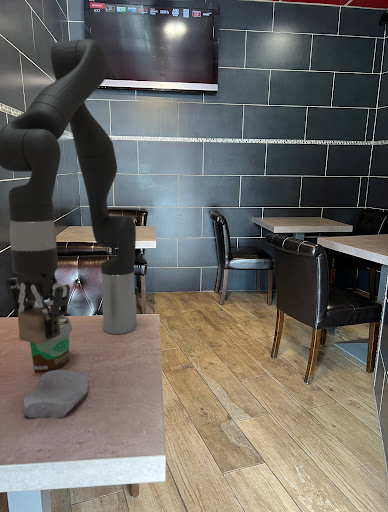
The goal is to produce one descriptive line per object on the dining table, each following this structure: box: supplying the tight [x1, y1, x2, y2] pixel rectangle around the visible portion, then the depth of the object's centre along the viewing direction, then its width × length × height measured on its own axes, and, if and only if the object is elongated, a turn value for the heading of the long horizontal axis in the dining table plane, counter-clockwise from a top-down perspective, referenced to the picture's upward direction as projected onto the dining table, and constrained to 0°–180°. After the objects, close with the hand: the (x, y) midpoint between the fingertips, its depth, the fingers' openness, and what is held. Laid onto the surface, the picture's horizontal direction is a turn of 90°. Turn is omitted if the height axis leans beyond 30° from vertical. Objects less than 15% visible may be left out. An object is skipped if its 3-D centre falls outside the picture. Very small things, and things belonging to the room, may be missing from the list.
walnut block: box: [17, 306, 60, 344], centre depth 68 cm, size 5×5×5 cm
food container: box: [29, 315, 73, 374], centre depth 85 cm, size 12×6×10 cm, turn 168°
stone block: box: [23, 369, 90, 419], centre depth 71 cm, size 12×5×10 cm
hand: (40, 334), depth 68 cm, fingers closed on walnut block, 5 cm apart
